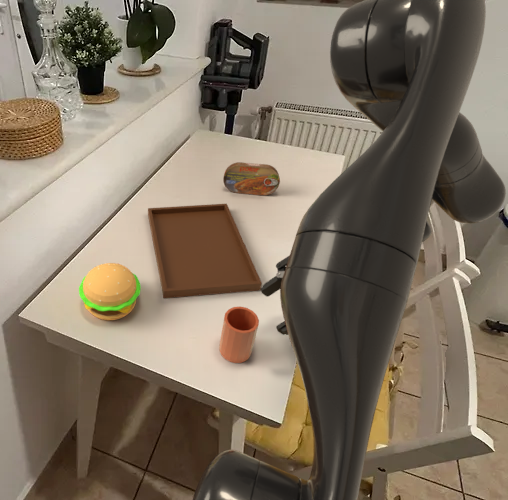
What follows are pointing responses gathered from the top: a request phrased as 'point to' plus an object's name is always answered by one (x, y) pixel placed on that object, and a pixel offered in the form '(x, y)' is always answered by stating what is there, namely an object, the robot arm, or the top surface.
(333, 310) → the robot arm
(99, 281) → the hamburger
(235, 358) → the reddish brown cup
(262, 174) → the tin
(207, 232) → the tray
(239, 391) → the top surface
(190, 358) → the top surface
